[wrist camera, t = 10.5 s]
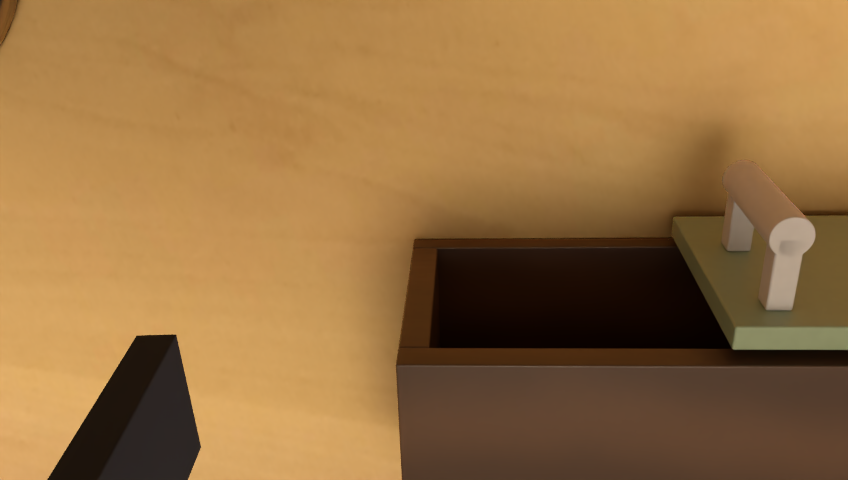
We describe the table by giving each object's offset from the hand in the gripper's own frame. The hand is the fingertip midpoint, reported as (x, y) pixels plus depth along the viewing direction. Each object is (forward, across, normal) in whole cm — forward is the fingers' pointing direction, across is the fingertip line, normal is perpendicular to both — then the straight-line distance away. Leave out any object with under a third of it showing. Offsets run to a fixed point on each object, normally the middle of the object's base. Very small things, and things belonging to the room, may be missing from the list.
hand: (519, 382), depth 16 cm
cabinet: (+23, +10, -14) cm, 29 cm away
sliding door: (+22, +16, -6) cm, 28 cm away
